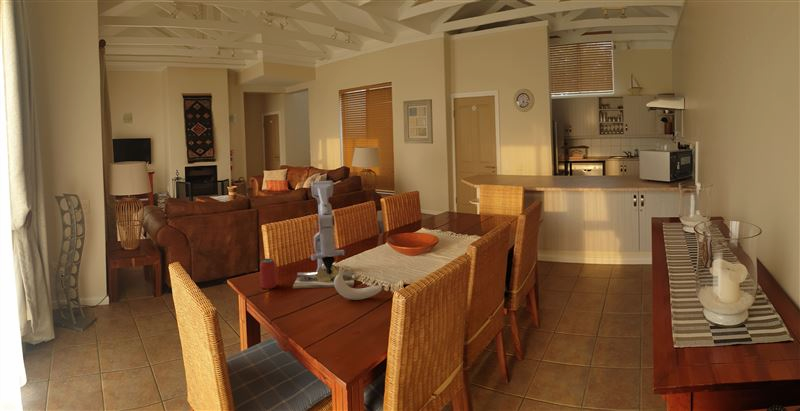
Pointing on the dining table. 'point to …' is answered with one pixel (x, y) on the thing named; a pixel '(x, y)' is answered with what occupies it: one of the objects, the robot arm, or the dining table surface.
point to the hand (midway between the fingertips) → (328, 273)
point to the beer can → (268, 273)
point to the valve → (322, 275)
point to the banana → (351, 292)
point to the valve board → (321, 283)
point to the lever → (333, 271)
